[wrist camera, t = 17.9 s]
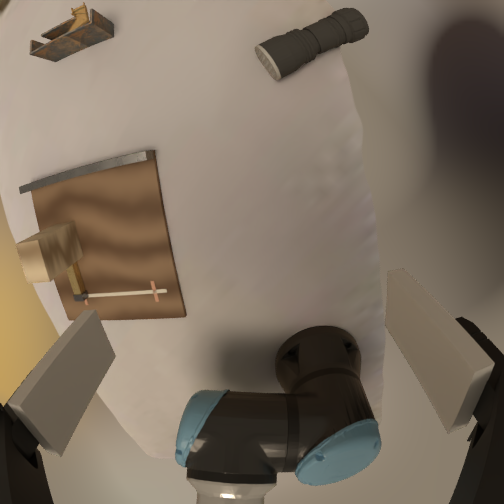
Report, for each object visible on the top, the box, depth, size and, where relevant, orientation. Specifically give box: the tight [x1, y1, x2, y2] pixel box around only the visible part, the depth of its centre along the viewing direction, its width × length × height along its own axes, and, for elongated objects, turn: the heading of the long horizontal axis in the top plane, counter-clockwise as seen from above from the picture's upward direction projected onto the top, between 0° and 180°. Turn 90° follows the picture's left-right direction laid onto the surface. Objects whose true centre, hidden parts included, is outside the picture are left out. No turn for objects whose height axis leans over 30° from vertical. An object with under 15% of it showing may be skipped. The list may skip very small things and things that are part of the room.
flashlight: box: [255, 8, 369, 80], centre depth 31 cm, size 15×5×5 cm, turn 123°
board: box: [19, 150, 186, 320], centre depth 42 cm, size 26×24×4 cm
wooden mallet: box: [16, 221, 89, 302], centre depth 39 cm, size 13×5×10 cm, turn 6°
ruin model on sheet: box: [30, 2, 114, 62], centre depth 28 cm, size 11×3×10 cm, turn 97°
